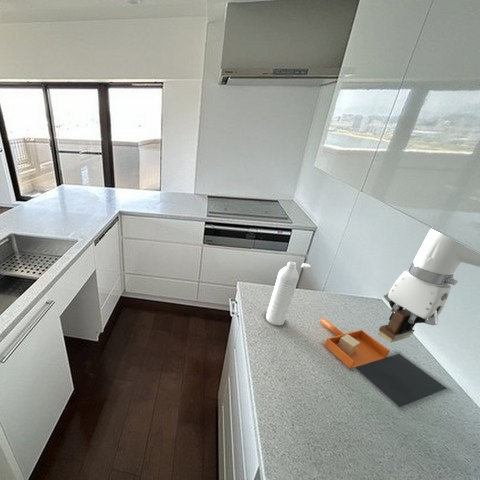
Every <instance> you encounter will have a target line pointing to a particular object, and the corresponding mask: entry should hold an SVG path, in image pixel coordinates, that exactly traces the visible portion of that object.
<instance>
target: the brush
mask: <svg viewBox="0 0 480 480" xmlns="http://www.w3.org/2000/svg"><path fill="white" fill-rule="evenodd" d="M411 314H412V312H410V311H408V310H407V309H405V308H404V309H403V310H399V311H395V313H394V315H393V316H392V318H391V320H389V321H390V322H389V321H388V323H389V324H384V325H381V326H380V327H379V328H378V332H377V335H379V336H380V337H381V338H383V339H384V340H386V341H387V342H388V343H391V344H392V343H394V342H398V341H402V340H405V339H409V338H410V337H411V336H412V335H413V334H414V332H415V331H416V330H415V329H414V328H413V329H412V330H411V331H410V332H403V333H401V332H400V331H399V330H400V328H401V327H402V325H403V323H404V321H406V320H408V319H409V317H410V315H411Z"/></svg>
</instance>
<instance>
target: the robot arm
mask: <svg viewBox="0 0 480 480" xmlns="http://www.w3.org/2000/svg"><path fill="white" fill-rule="evenodd" d="M461 263H463V264H468V265H471V266H475V267H478V268H480V254H479V253H477V252H475V251H473V250H471V249H469V248H467V247H465V246H464V245H462V244H460V243H458V242H456V241H454V240H453V239H451V238H449V237H447V236H445V235H443V234H442V233H440V232H438V231H436V230H434V229H432V228H430V229H429V231H428V232H427V234H426V235H425V238H424V239H423V241H422V244H421V246H420V247H419V249H418V251H417V253H416V255H415V257H414V259H413V260H412V262H411V265H409V268H408V269H405V270H404V271H403V272H402V273H401V274H400V275H399V277H398V278H397V279H396V280H395V282H394V283H393V285H392V287H391V288H390V289H389V292H387V293H385V294H384V295H383V298H384V300H386V301H387V303H388V304H389V306H390V308H391V310H390V311H391V314H390V316H389V318H388V324H389V322H390V320H391V318H392V316H393V315H394V313H395V311H399V310H403V309H407V310H408V311H410V312H412V314H411V315H410V317H409V319H408V320H406V321H404V323H403V325H402V327H401V328H400V330H399V331H400V332H401V333H403V332H410V331H411V330H412V329H413V330H414V327H415V325H416V324H425V325H431V326H437V325H438V324H439V315H441V313H442V312H443V310H444V307H445V305H446V303H447V301H448V299H449V295H450V293H451V289H452V286H456V285H457V284H458V282H459V281H458V280H457V279H455V278H454V276H455V274H454V273H455V272H456V270H457V268H458V267H459V265H460V264H461ZM388 324H387V325H388Z"/></svg>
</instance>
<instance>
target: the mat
mask: <svg viewBox="0 0 480 480" xmlns="http://www.w3.org/2000/svg"><path fill="white" fill-rule="evenodd" d="M354 368H355V369H356V370H357V371H358V372H359V373H360V374H361V375H363V376H364V377H365V378H366V379H367V380H368V381H369V382H371V383H372V384H373V385H374V386H375V387H376V388H377V389H378V390H380V391H381V392H382V393H383V394H384V395H385V396H386V397H387V398H389V399H390V400H391V401H392V402H393V403H394V404H396V405H397V406H398V407H399V408H401V407H403V406H406V405H408V404H412V403H413V402H416V401H418V400H421V399H423V398H426V397H428V396H431V395H434V394H437V393H439V392H441V391H444V390H447V387H446V386H444V385H443V384H442V383H440V382H439V381H438V380H436V379H435V378H433V377H432V376H431V375H429V374H428V373H427V372H425V371H424V370H423V369H421V368H420V367H418V366H417V365H416V364H414V363H413V362H411V361H410V360H409V359H408V358H406V357H405V356H403V355H402V354H401V353H396V354H393V355H390V356H387V357H386V358H383V359H380V360H377V361H374V362H370V363H367V364H364V365H361V366H357V367H354Z"/></svg>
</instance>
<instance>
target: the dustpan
mask: <svg viewBox="0 0 480 480" xmlns="http://www.w3.org/2000/svg"><path fill="white" fill-rule="evenodd" d="M320 323H321V324H322V325H323V326H324V327H326V328H327V329H328V330H329V331H331V332H332V333H333V334H334V335H335V336H331V337H327V338H326V340H325V343H324V346H325V347H326V349H328V350H329V351H330V352H331V353H332V354H333V355H334V356H335V357H337V358H338V359H339V360H340V361H341V362H342V363H343V364H345V366H346V367H347V368H349V369H354V368H355V367H357V366H361V365H364V364H367V363H370V362H374V361H377V360H380V359H383V358H387V357H388V355H389V354H390V352H391V350H390V349H389V348H387V347H386V346H384V345H383V344H382V343H380V342H379V341H378V340H377V339H375V338H373V337H372V336H371V335H370V334H368V333H367V332H366V331H364V330H363V329H358V330H354V331H351V332H347V333H344V332H342V331H341V330H340V329H338V328H337V327H336V326H335V325H334V324H332V323H331V322H330V321H328V320H327V319H326V318H325V317H323V318H320ZM347 334H348V335H350V336H351V337H353V338H354V339H356V340H357V341H359V342H360V344H359V346H358V348H357V350H356V352H354V353H352V354H351V355H348V354H346V353H345V352H343V351H342V350H341V349H340V348H339V347H338V346H337V345H338V343H339V341H340V339H341V338H342V337H343V336H345V335H347Z"/></svg>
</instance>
